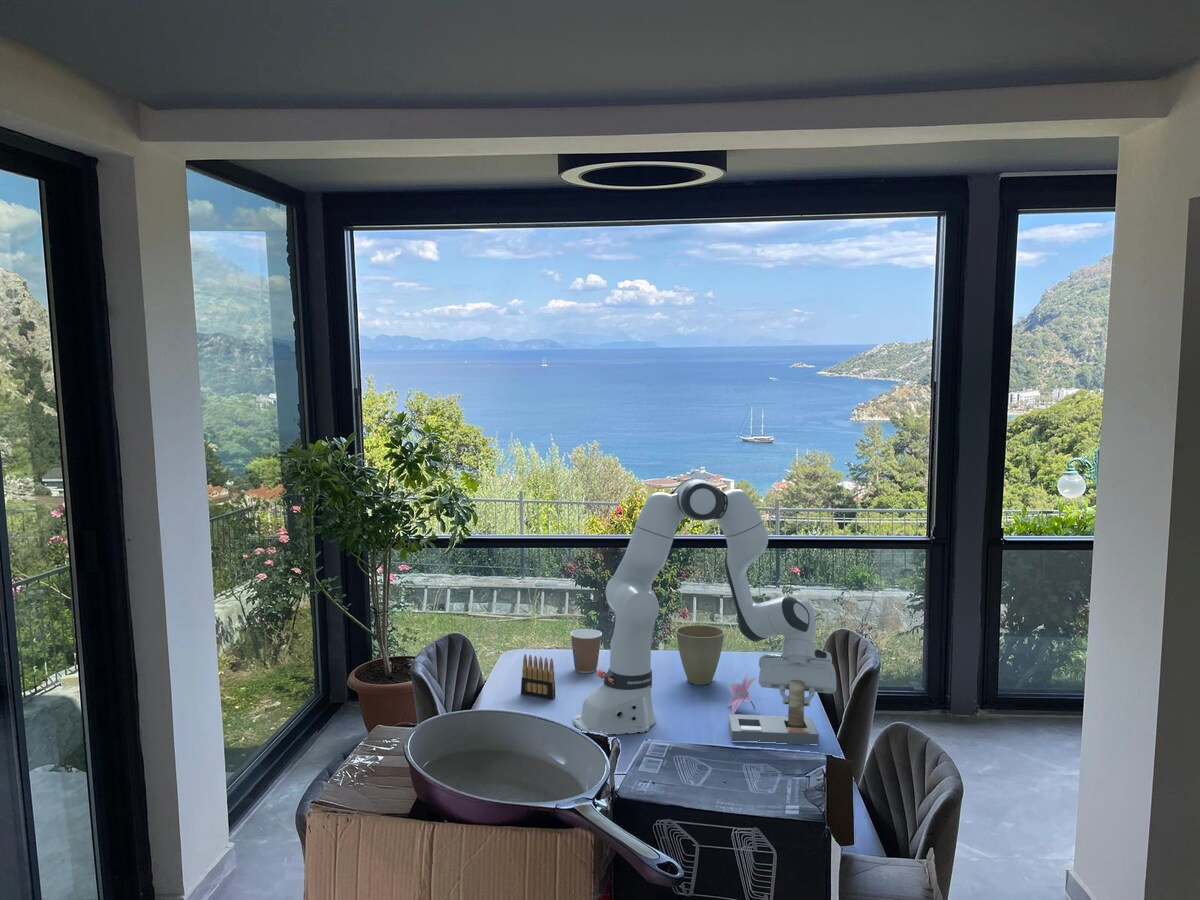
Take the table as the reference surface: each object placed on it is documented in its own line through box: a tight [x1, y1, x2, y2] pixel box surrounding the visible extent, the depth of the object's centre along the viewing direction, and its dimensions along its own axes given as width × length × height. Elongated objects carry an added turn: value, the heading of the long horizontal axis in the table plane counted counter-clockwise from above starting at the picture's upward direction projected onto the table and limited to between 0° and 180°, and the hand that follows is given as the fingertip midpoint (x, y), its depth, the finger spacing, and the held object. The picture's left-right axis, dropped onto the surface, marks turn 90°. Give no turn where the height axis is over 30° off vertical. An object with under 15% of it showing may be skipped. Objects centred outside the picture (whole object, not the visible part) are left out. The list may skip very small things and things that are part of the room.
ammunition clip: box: [520, 653, 556, 701], centre depth 262 cm, size 11×2×12 cm, turn 65°
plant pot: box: [675, 624, 725, 686], centre depth 277 cm, size 15×15×16 cm
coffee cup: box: [569, 628, 603, 674], centre depth 287 cm, size 10×10×12 cm
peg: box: [787, 680, 806, 728], centre depth 234 cm, size 4×4×12 cm
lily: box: [726, 673, 757, 714], centre depth 253 cm, size 12×12×10 cm
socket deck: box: [728, 713, 820, 746], centre depth 234 cm, size 22×12×3 cm, turn 86°
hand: (796, 704), depth 233 cm, fingers closed on peg, 4 cm apart
